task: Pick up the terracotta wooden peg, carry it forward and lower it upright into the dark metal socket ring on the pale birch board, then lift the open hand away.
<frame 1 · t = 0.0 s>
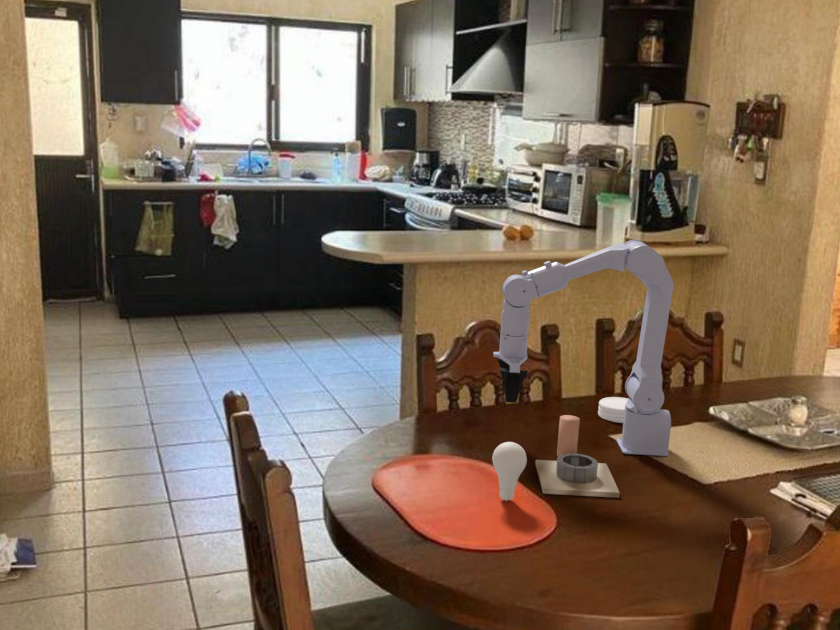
hand: (509, 396, 187), 10 cm above the table, fingers open, 7 cm apart
peg: (566, 455, 184), on the table
coaster: (619, 417, 210), on the table
socket board: (575, 480, 171), on the table
lightbulb: (506, 501, 161), on the table
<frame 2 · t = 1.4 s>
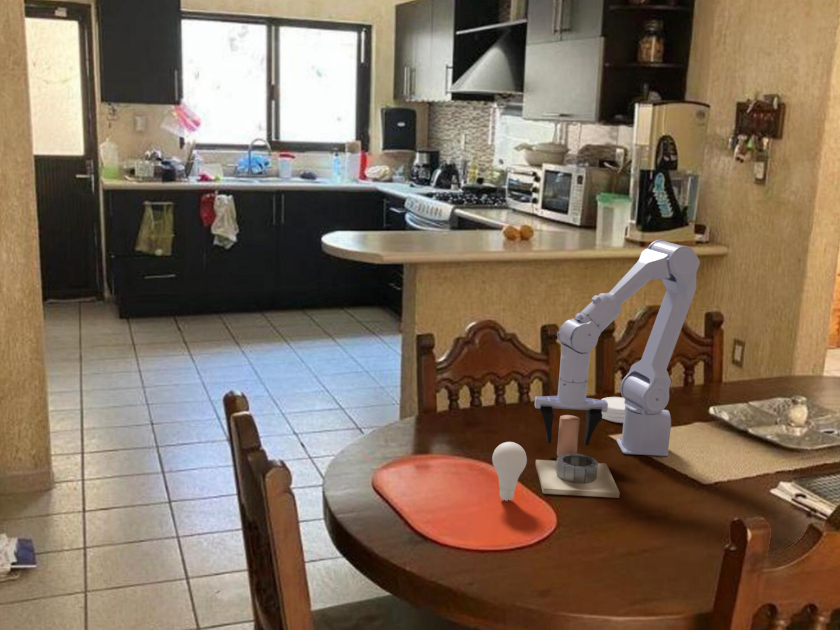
hand: (567, 442, 183), 3 cm above the table, fingers open, 7 cm apart
nothing on the table moved.
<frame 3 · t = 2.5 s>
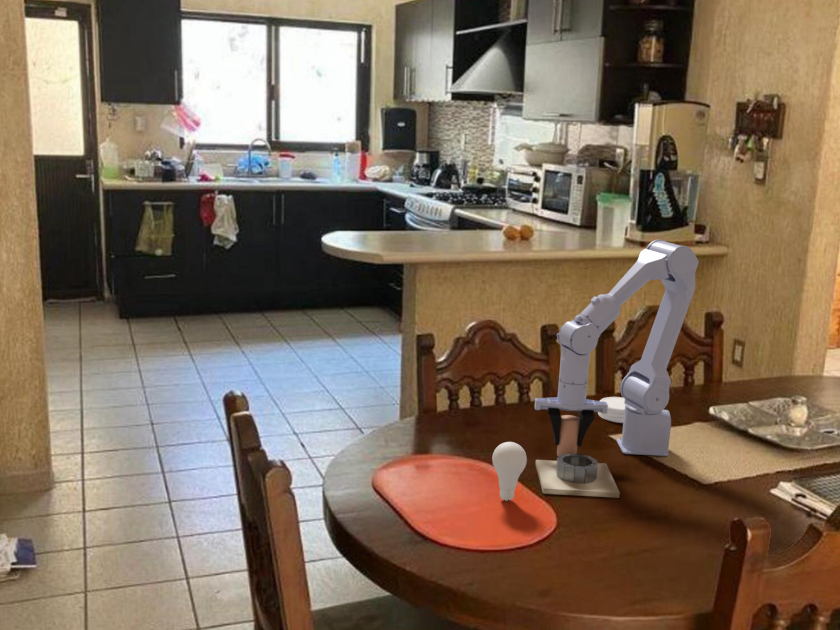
hand: (567, 444, 183), 2 cm above the table, fingers closed on peg, 4 cm apart
peg: (566, 455, 184), on the table, touching gripper
everything else where it was.
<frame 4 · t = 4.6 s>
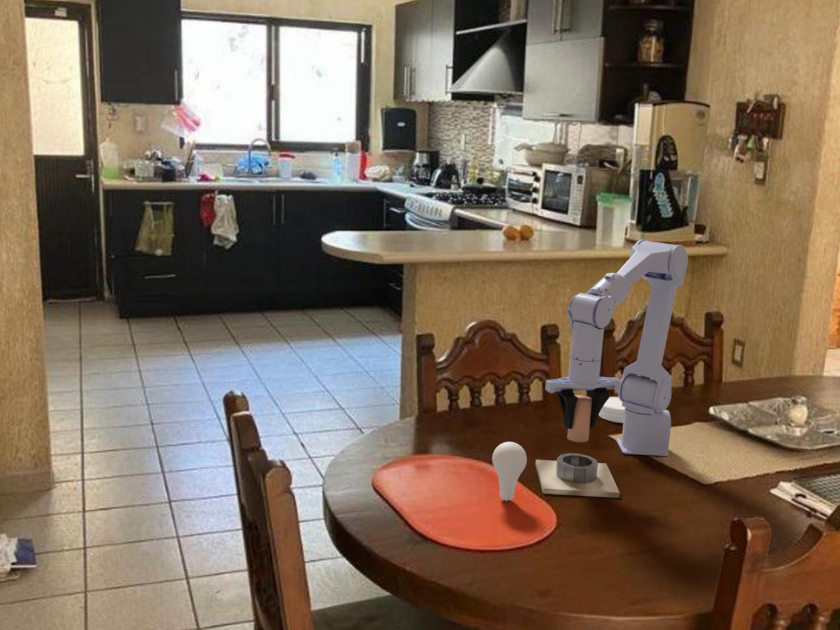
hand: (579, 426, 170), 10 cm above the table, fingers closed on peg, 4 cm apart
peg: (577, 438, 170), point 8 cm above the table, touching gripper
everything else where it was.
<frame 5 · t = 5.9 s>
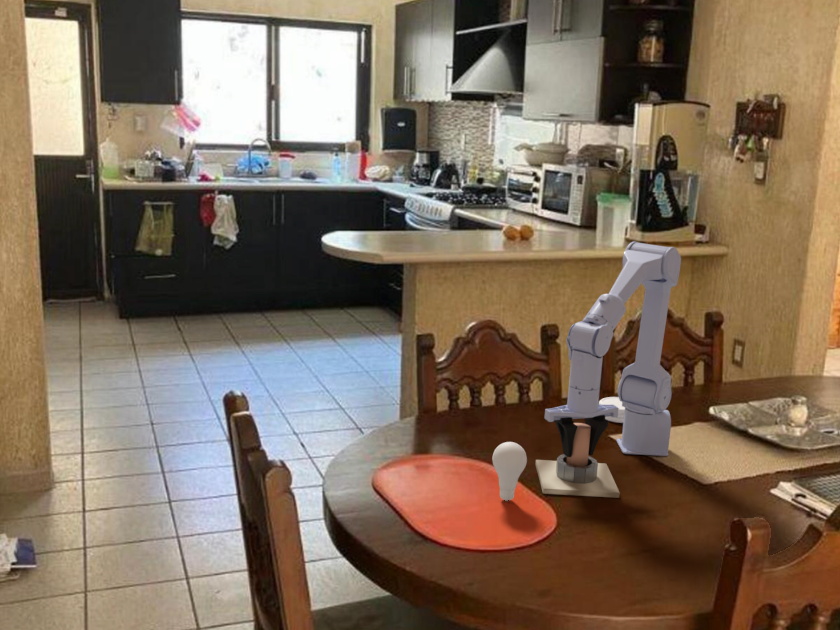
hand: (577, 454, 170), 5 cm above the table, fingers closed on peg, 4 cm apart
peg: (576, 466, 170), point 3 cm above the table, touching gripper
everything else where it was.
when the fingers open (5 cm above the table, at t = 6.9 s): peg drops 1 cm, resting on socket board.
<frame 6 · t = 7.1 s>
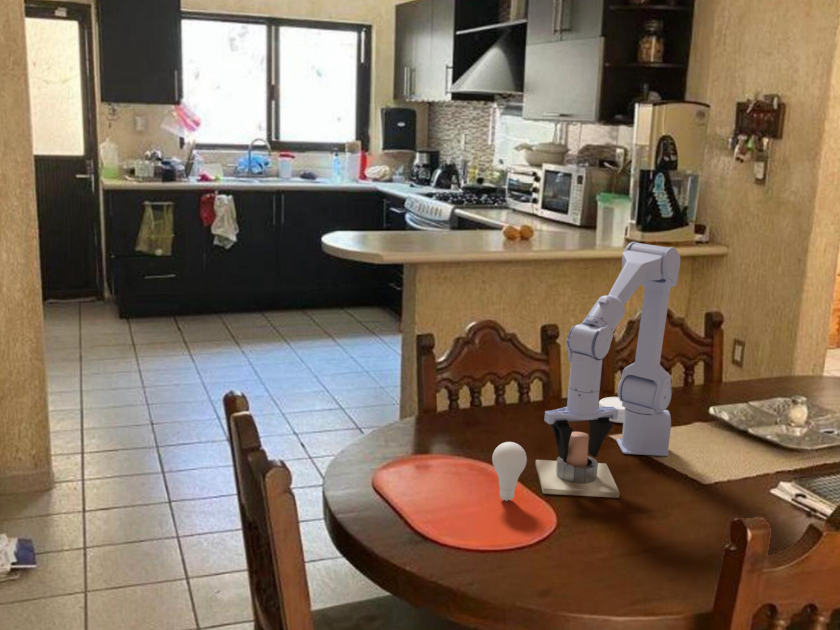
hand: (577, 456, 170), 5 cm above the table, fingers open, 6 cm apart
peg: (576, 474, 171), point 1 cm above the table, touching socket board
everything else where it was.
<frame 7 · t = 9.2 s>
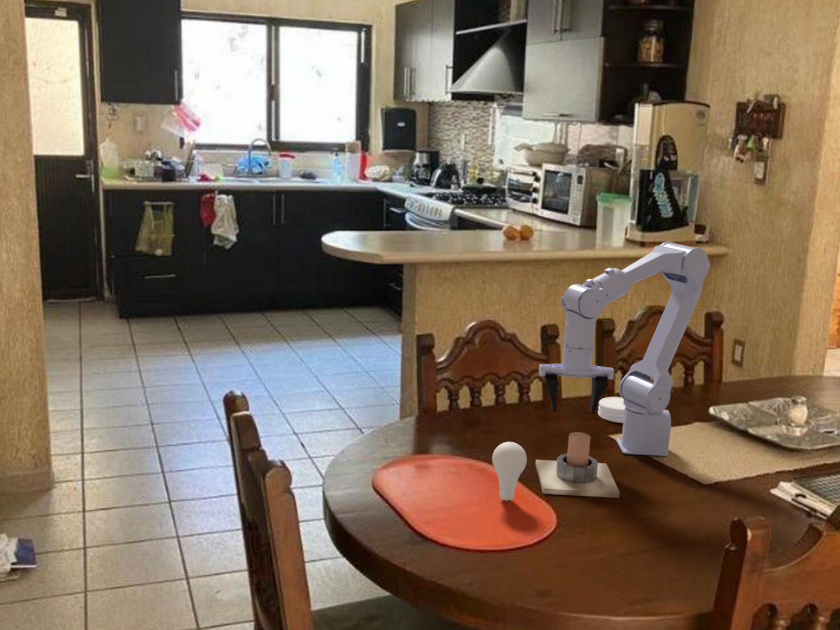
hand: (572, 411, 179), 10 cm above the table, fingers open, 7 cm apart
nothing on the table moved.
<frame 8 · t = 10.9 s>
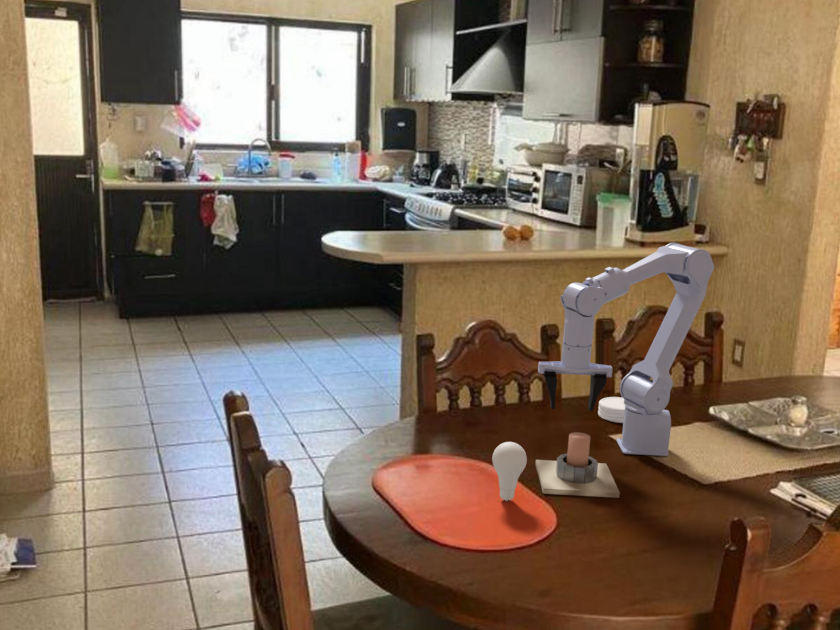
hand: (571, 408, 180), 10 cm above the table, fingers open, 7 cm apart
nothing on the table moved.
at the end: peg 0.1 cm off-centre on the socket board, point 1.0 cm above the socket board's base; peg tilted 0°; the gripper is holding nothing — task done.
